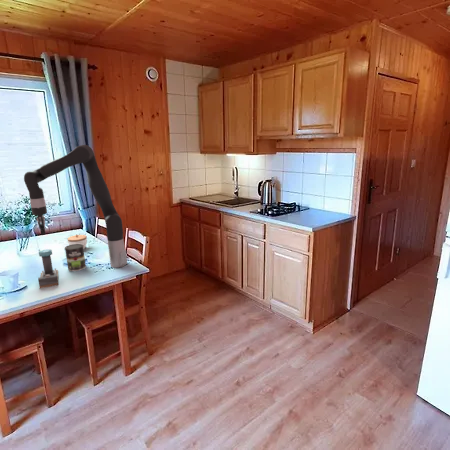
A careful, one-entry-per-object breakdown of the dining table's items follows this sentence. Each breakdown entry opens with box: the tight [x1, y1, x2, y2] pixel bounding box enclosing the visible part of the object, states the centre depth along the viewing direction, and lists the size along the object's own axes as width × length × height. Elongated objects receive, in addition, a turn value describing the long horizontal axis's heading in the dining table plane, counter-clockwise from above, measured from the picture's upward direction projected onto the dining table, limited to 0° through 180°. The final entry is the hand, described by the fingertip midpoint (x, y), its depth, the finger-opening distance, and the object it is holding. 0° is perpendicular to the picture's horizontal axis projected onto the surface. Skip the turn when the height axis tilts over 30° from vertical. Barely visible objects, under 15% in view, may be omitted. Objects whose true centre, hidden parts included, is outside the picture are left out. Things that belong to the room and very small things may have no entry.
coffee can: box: [64, 244, 87, 272], centre depth 197 cm, size 10×10×14 cm
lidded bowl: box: [67, 234, 88, 249], centre depth 231 cm, size 13×13×11 cm
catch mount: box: [38, 268, 59, 289], centre depth 182 cm, size 20×9×6 cm, turn 27°
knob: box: [38, 248, 55, 276], centre depth 185 cm, size 7×7×14 cm
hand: (43, 234), depth 190 cm, fingers closed
